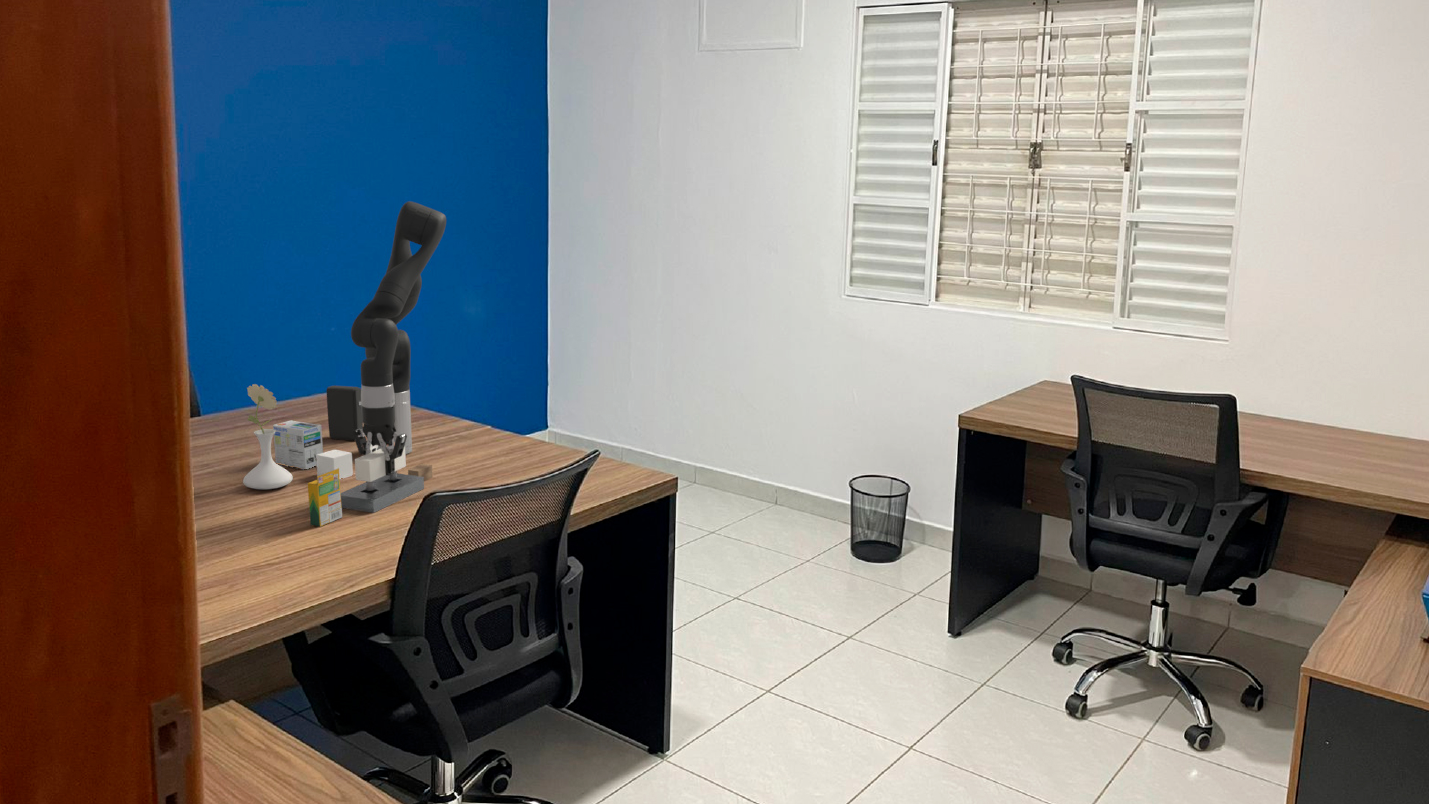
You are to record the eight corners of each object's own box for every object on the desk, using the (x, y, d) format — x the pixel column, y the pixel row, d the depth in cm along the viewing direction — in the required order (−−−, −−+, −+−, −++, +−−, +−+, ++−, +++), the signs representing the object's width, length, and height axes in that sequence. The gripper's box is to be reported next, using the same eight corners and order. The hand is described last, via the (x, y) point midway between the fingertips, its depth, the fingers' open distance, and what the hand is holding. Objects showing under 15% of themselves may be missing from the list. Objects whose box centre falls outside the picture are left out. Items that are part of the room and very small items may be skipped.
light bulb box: (324, 464, 299) (322, 424, 296) (305, 470, 293) (303, 429, 290) (293, 458, 303) (291, 419, 301) (274, 464, 297) (271, 424, 295)
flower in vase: (301, 487, 279) (295, 386, 274) (255, 496, 271) (248, 393, 266) (277, 475, 288) (271, 378, 282) (232, 484, 280) (224, 384, 275)
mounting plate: (373, 512, 262) (373, 500, 261) (337, 507, 265) (336, 494, 264) (424, 488, 280) (423, 476, 279) (389, 483, 283) (388, 472, 282)
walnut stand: (418, 483, 284) (418, 471, 283) (408, 482, 285) (407, 469, 284) (432, 477, 289) (432, 465, 289) (422, 475, 290) (421, 463, 290)
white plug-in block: (371, 493, 265) (369, 457, 263) (356, 491, 266) (354, 455, 264) (406, 477, 277) (404, 443, 275) (392, 475, 279) (390, 441, 277)
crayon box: (332, 515, 259) (329, 466, 256) (342, 517, 258) (340, 468, 255) (309, 525, 252) (306, 474, 250) (320, 527, 251) (317, 476, 249)
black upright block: (365, 438, 324) (363, 386, 321) (358, 441, 321) (356, 389, 317) (335, 436, 326) (332, 384, 323) (328, 439, 322) (325, 387, 319)
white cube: (334, 481, 284) (333, 458, 283) (317, 477, 287) (316, 454, 286) (353, 475, 290) (351, 452, 288) (335, 472, 292) (334, 449, 291)
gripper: (342, 403, 266) (346, 474, 270) (394, 409, 261) (397, 481, 265) (362, 396, 273) (365, 466, 277) (413, 402, 268) (416, 472, 272)
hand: (381, 473), depth 271 cm, fingers closed on white plug-in block, 4 cm apart
